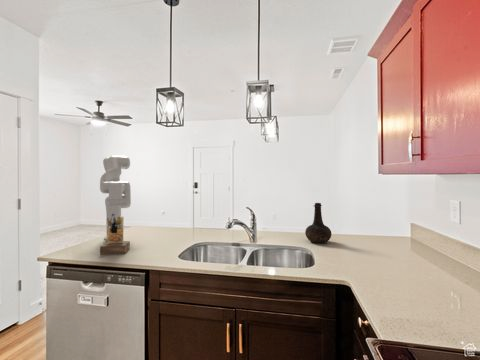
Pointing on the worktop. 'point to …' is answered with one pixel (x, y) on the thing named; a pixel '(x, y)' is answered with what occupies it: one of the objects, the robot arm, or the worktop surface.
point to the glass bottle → (318, 228)
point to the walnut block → (114, 248)
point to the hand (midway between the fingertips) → (115, 231)
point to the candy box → (115, 236)
